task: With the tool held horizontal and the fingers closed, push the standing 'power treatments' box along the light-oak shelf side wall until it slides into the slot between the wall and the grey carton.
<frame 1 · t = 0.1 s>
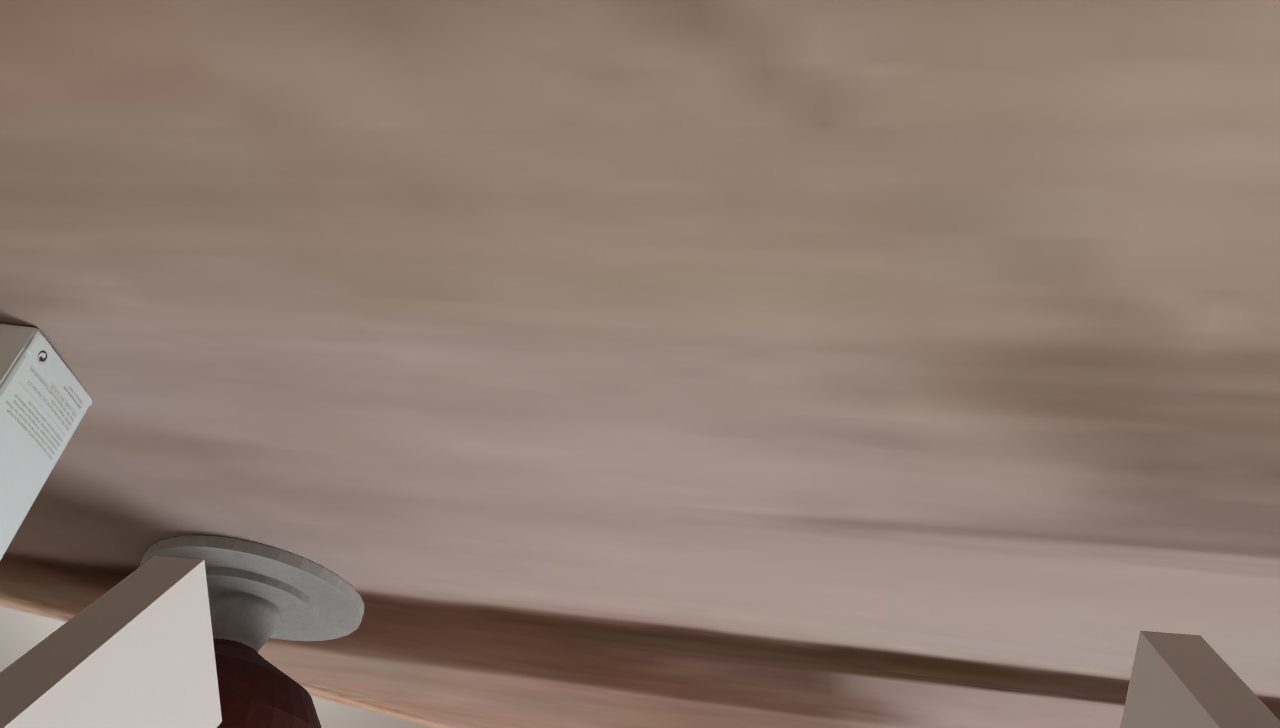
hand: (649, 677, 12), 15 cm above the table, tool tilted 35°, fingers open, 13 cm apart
mate gourd: (246, 578, 50), on the table
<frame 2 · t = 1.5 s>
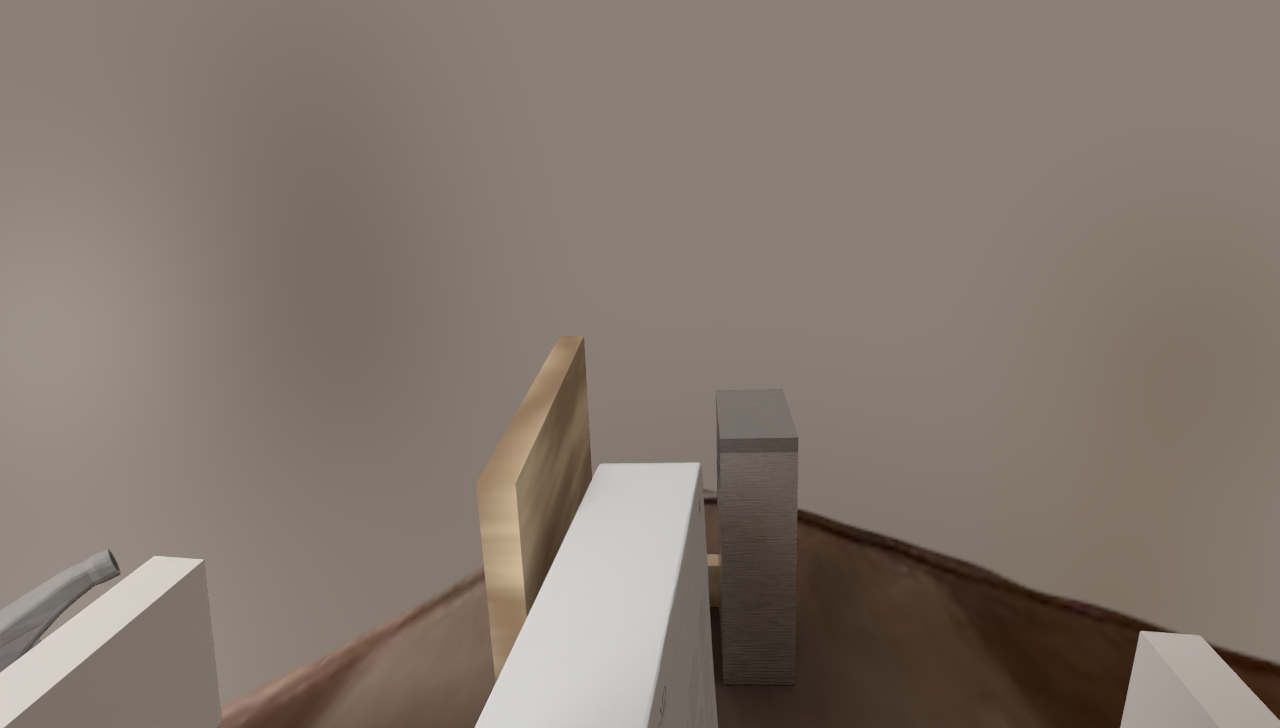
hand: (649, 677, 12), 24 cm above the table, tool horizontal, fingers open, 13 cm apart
oak shelf corner: (651, 701, 48), on the table
grey carton: (754, 642, 53), on the table
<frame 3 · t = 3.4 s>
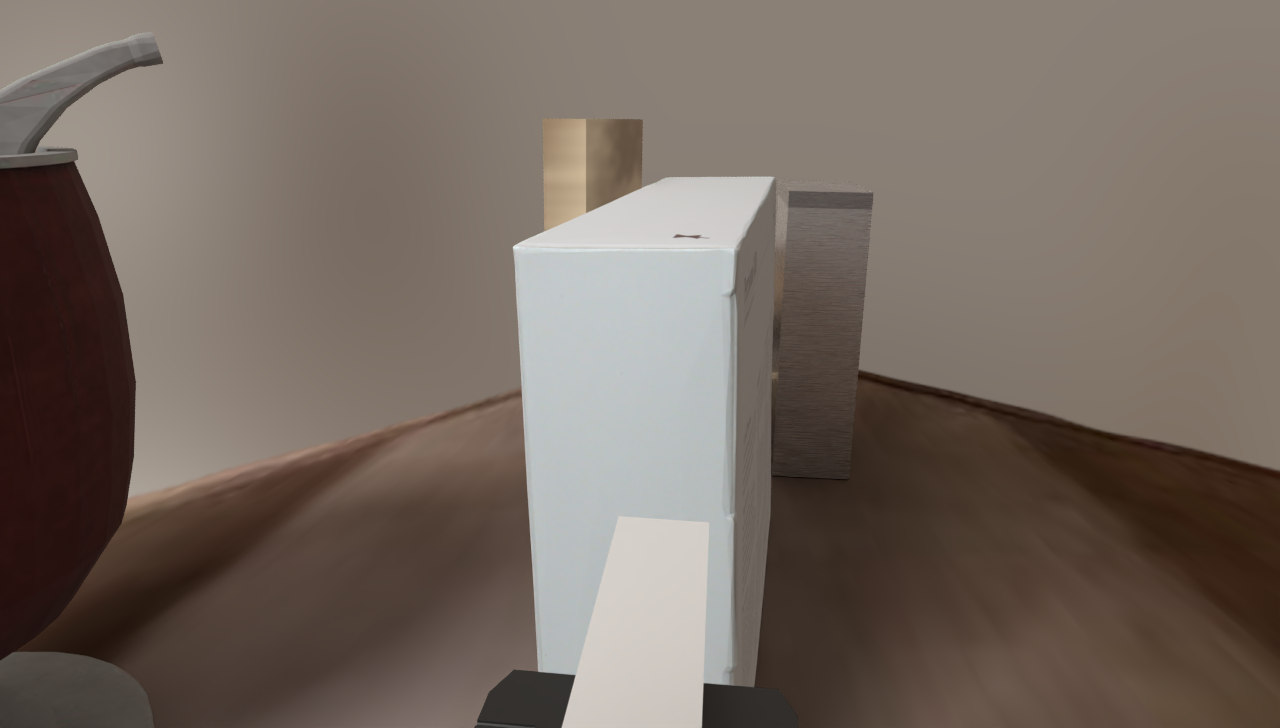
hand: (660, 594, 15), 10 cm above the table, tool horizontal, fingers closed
oak shelf corner: (695, 483, 45), on the table
grey carton: (803, 450, 50), on the table
skincare box: (682, 643, 32), on the table
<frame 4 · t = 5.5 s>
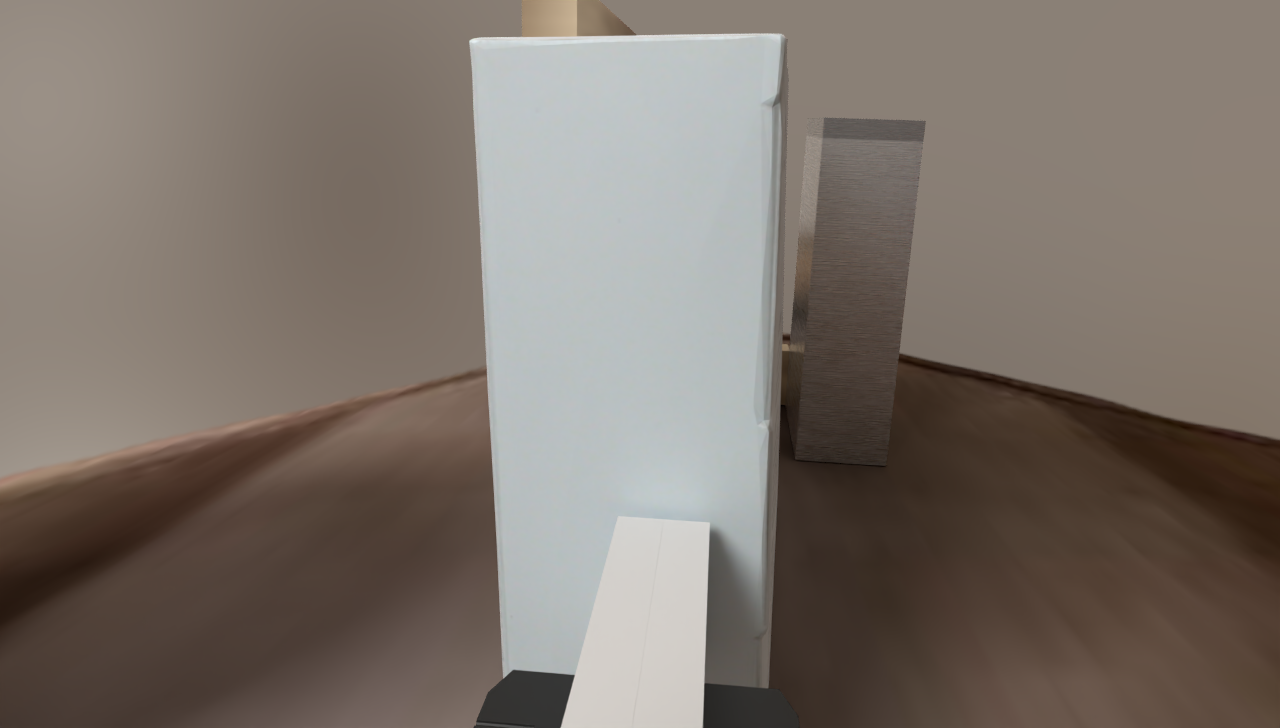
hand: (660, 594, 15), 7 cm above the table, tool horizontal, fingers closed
oak shelf corner: (705, 466, 38), on the table
grey carton: (830, 432, 43), on the table
skincare box: (678, 619, 27), on the table, touching gripper
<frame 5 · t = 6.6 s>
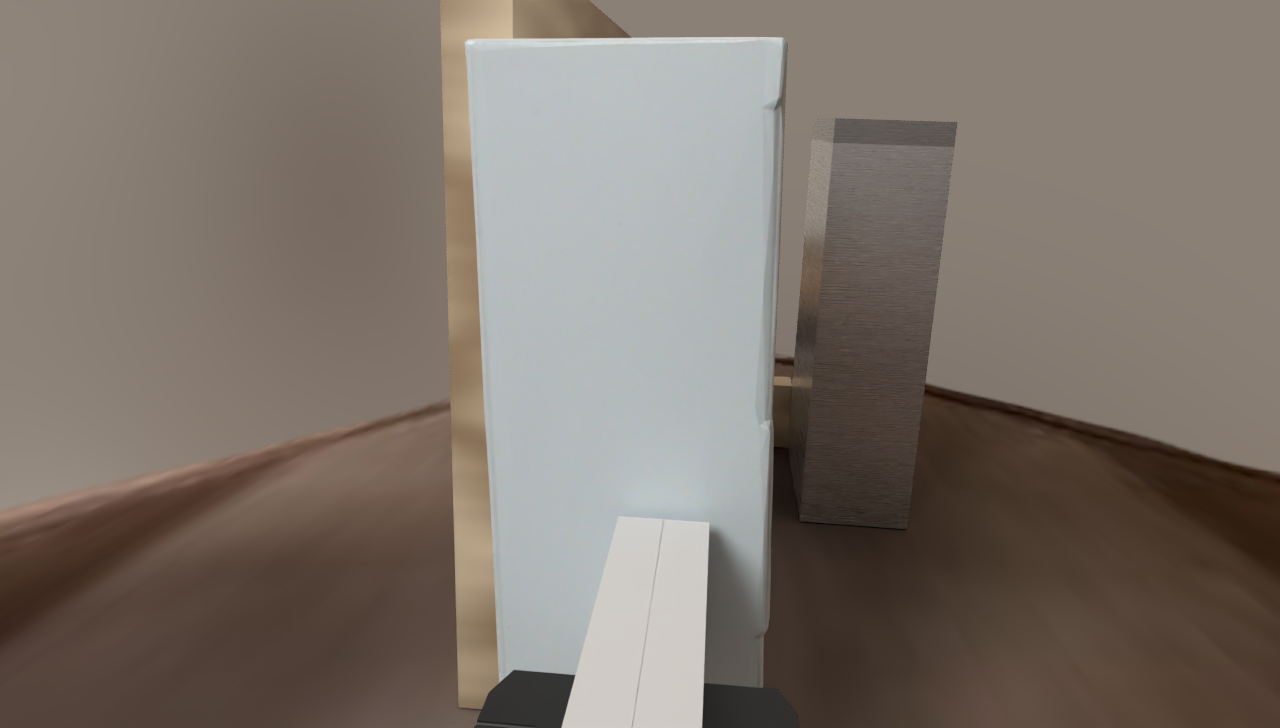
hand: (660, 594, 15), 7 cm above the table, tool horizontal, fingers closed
oak shelf corner: (693, 531, 32), on the table
grey carton: (840, 483, 37), on the table
skincare box: (650, 619, 27), on the table, touching gripper
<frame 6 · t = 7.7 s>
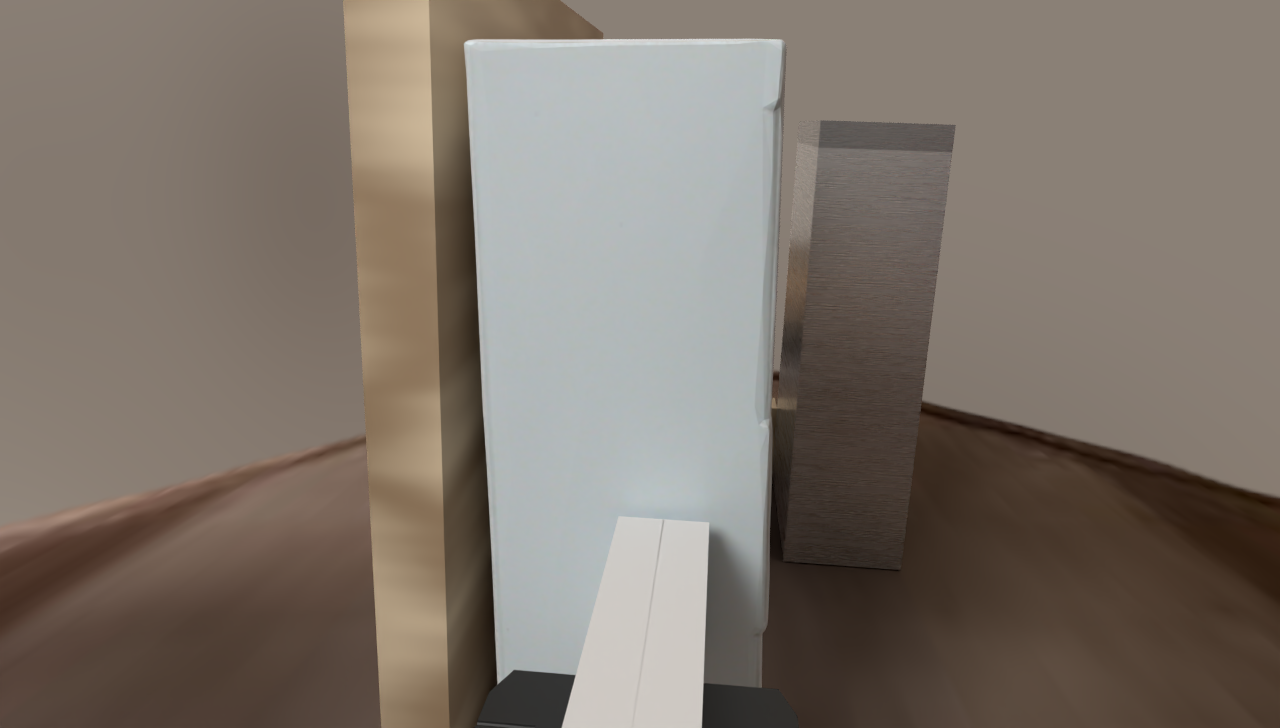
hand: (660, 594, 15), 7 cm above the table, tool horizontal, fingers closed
oak shelf corner: (666, 573, 29), on the table
grey carton: (828, 516, 34), on the table
skincare box: (638, 621, 27), on the table, touching gripper
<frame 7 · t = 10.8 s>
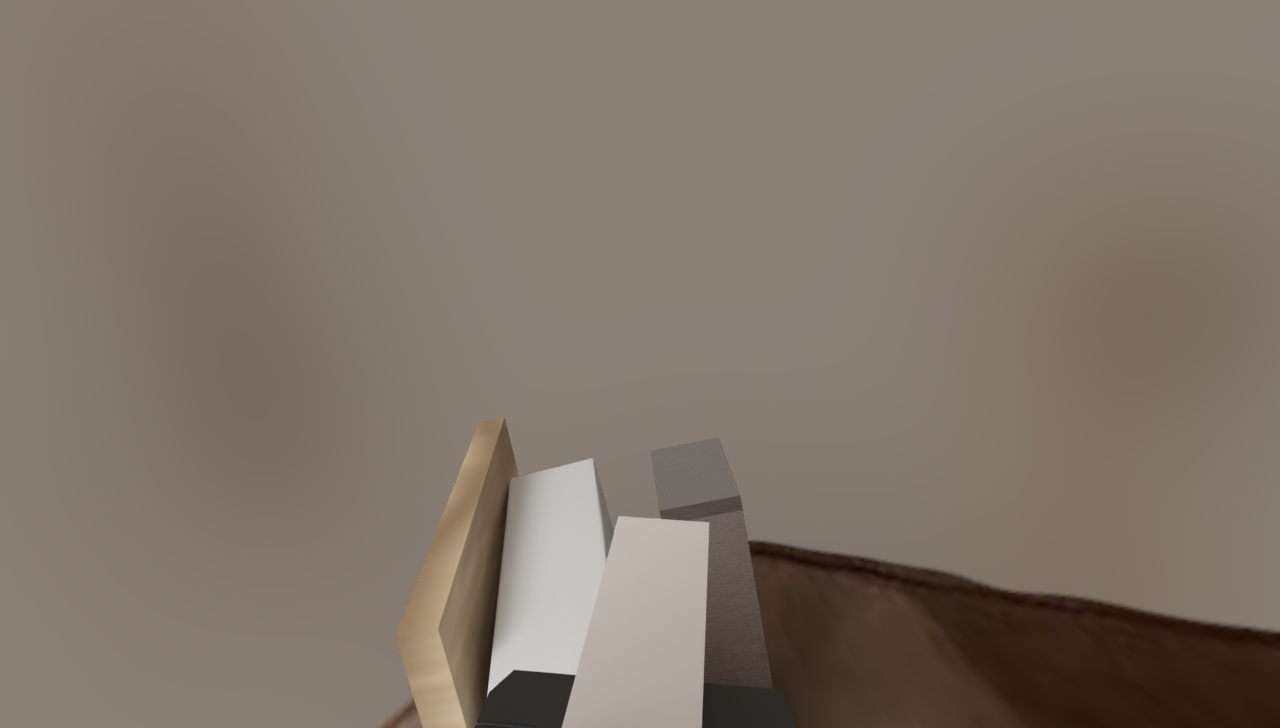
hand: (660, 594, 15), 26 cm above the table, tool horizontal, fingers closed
grey carton: (734, 704, 51), on the table
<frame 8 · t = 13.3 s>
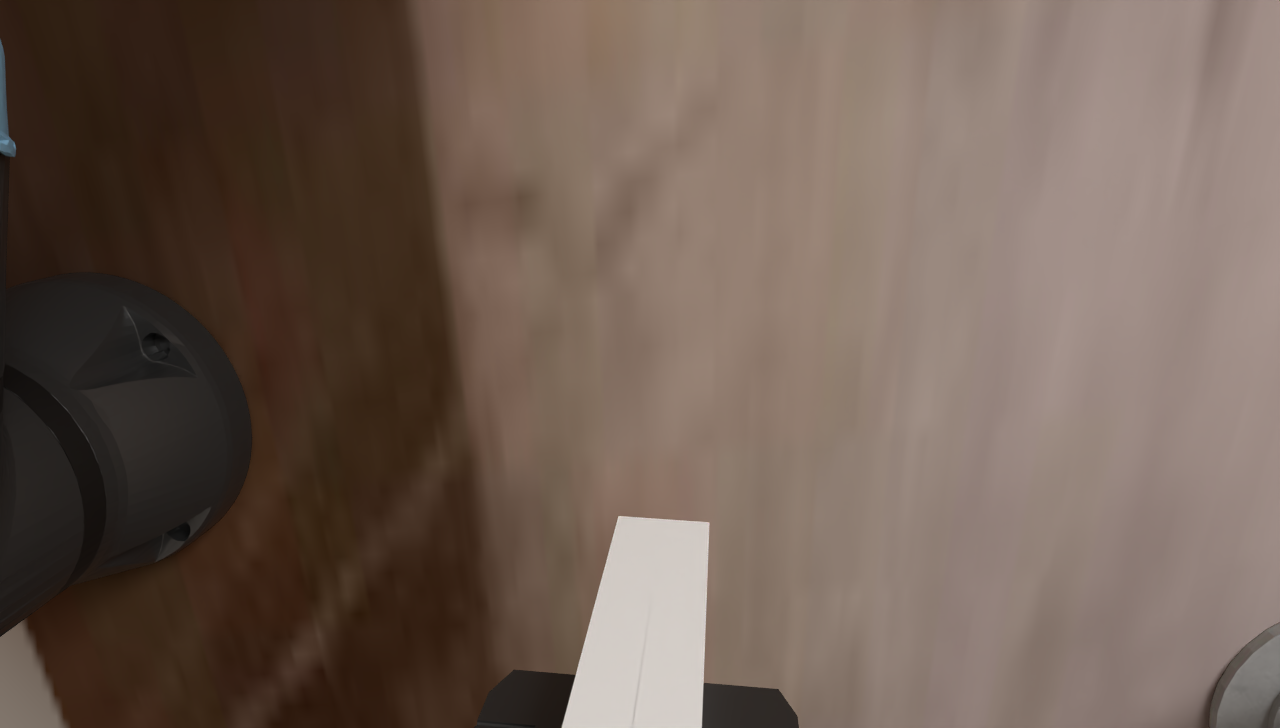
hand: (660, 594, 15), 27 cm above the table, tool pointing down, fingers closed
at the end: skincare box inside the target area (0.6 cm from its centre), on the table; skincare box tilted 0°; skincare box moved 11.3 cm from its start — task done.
